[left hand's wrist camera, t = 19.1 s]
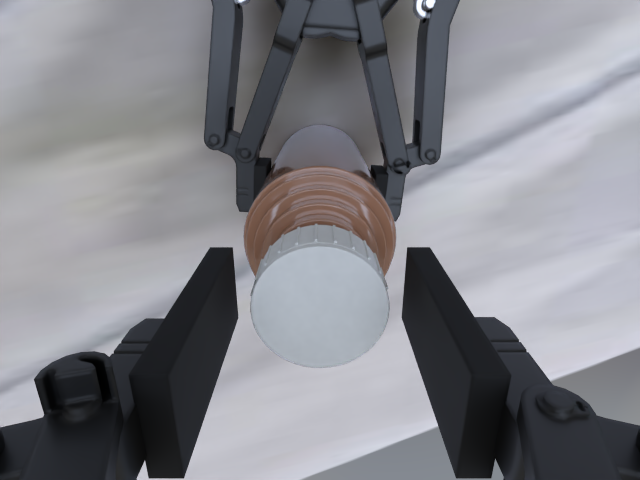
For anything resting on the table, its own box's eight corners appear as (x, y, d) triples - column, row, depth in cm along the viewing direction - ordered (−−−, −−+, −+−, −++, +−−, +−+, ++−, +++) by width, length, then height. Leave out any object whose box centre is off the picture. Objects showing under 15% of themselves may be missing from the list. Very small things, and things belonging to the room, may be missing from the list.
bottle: (377, 179, 33) (460, 327, 14) (308, 223, 35) (293, 415, 15) (332, 106, 31) (353, 158, 12) (260, 156, 33) (171, 276, 13)
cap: (317, 195, 14) (317, 214, 12) (408, 279, 15) (421, 309, 13) (232, 283, 15) (219, 312, 13) (322, 354, 16) (322, 391, 14)
